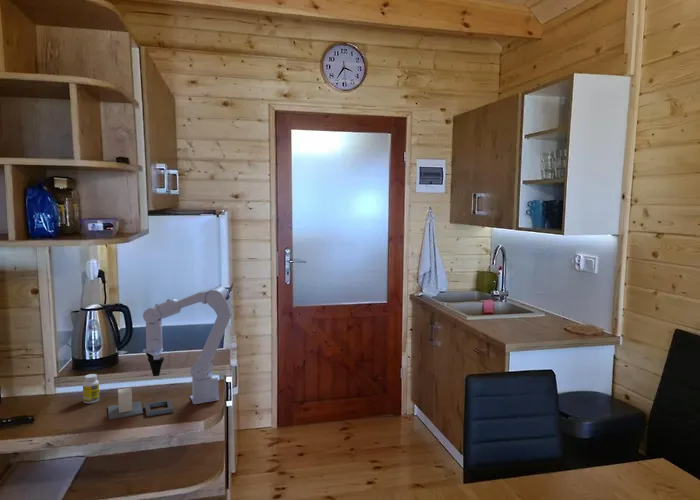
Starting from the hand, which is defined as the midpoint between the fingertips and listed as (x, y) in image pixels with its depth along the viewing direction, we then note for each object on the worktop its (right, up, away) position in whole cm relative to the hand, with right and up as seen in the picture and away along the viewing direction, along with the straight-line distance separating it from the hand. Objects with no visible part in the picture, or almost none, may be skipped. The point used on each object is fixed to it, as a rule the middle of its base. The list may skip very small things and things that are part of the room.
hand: (155, 372), depth 189 cm
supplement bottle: (-23, -11, -2) cm, 26 cm away
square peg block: (-7, -11, -10) cm, 16 cm away
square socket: (+5, -12, -9) cm, 15 cm away
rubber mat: (-7, -11, -10) cm, 17 cm away
